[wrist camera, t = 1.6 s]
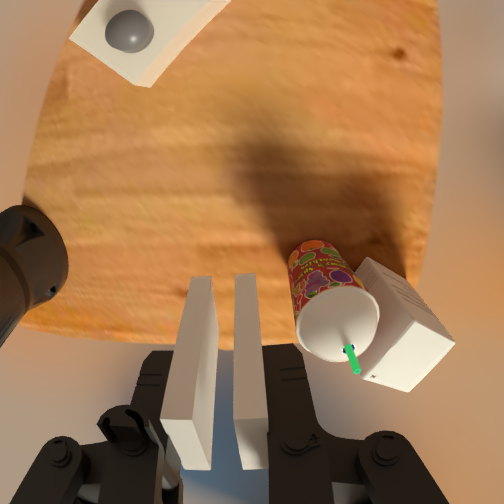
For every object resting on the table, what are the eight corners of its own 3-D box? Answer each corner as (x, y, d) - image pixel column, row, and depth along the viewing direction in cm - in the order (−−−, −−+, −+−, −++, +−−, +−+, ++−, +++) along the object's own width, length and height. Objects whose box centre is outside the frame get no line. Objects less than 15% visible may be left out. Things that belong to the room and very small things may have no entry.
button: (135, 60, 25) (126, 56, 23) (107, 41, 24) (96, 36, 22) (162, 29, 24) (155, 22, 22) (133, 10, 23) (124, 2, 20)
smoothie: (334, 221, 40) (402, 316, 22) (347, 275, 43) (404, 383, 25) (271, 241, 41) (295, 353, 23) (289, 294, 44) (317, 413, 26)
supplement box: (372, 324, 47) (408, 395, 34) (328, 304, 45) (358, 380, 32) (408, 279, 44) (458, 343, 30) (366, 253, 42) (415, 319, 28)
